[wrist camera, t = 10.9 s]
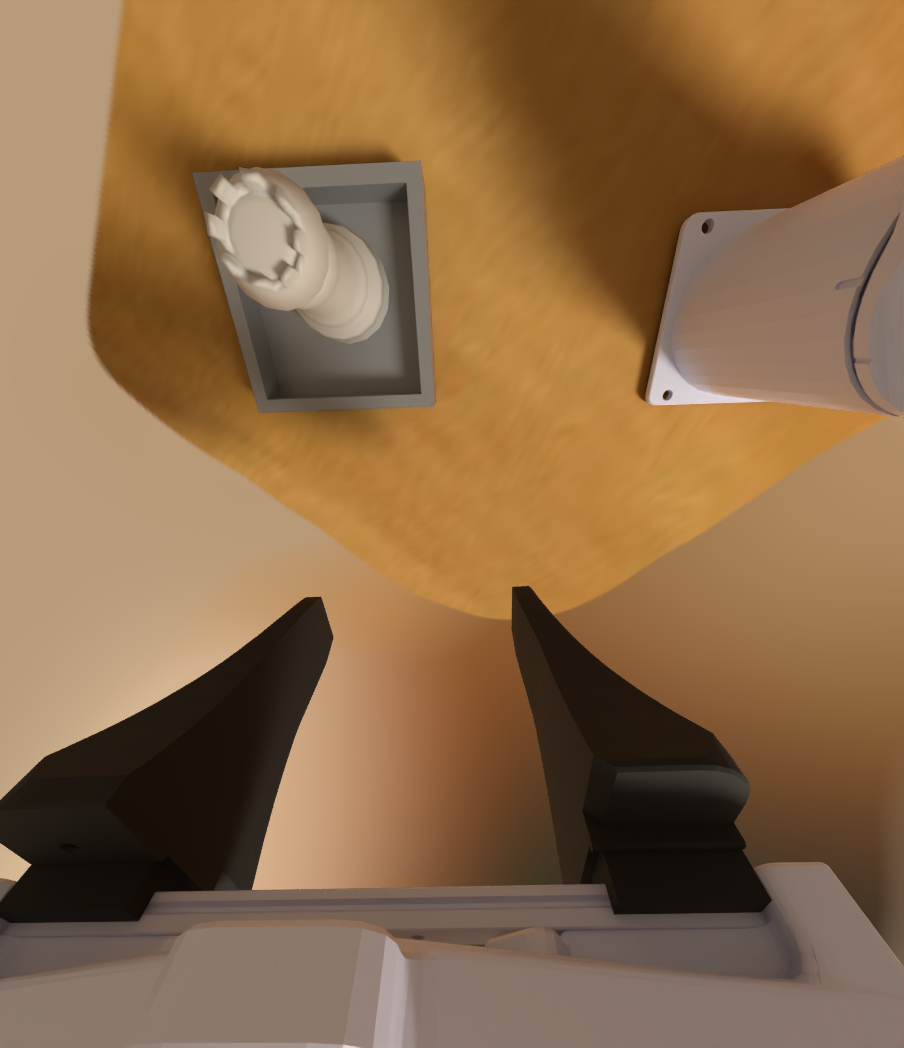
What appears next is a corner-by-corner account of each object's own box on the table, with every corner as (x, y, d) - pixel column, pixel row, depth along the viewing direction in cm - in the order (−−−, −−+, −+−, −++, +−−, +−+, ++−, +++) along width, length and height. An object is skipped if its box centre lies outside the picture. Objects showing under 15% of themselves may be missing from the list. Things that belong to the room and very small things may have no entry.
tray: (424, 185, 14) (420, 160, 13) (435, 402, 18) (434, 406, 17) (223, 195, 15) (191, 172, 13) (277, 407, 19) (258, 412, 17)
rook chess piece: (278, 264, 15) (124, 176, 8) (359, 210, 15) (266, 61, 7) (332, 360, 17) (245, 358, 10) (407, 318, 16) (371, 281, 9)
